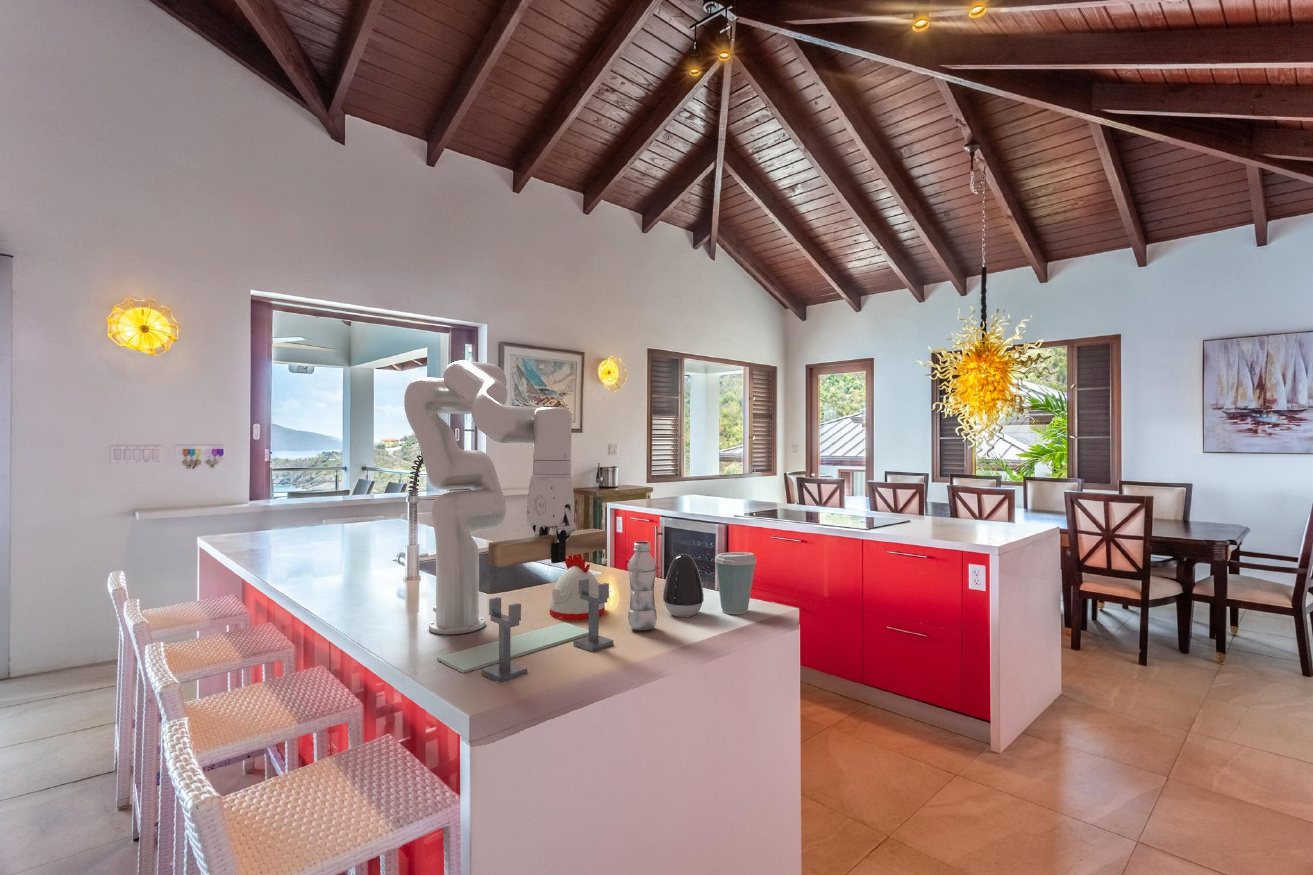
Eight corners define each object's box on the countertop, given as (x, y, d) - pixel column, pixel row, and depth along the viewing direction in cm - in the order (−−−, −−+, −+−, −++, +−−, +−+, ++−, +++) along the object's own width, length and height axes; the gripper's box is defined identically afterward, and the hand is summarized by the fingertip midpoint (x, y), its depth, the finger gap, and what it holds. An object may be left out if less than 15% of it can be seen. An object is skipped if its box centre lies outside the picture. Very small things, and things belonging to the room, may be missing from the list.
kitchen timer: (576, 602, 164) (576, 547, 165) (615, 610, 156) (615, 552, 157) (538, 614, 153) (538, 554, 153) (578, 623, 145) (578, 560, 145)
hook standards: (479, 673, 114) (479, 601, 114) (592, 638, 134) (592, 576, 134) (501, 684, 109) (502, 608, 109) (615, 645, 129) (615, 581, 129)
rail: (488, 564, 114) (488, 542, 114) (593, 546, 133) (593, 528, 133) (500, 567, 111) (500, 545, 111) (605, 549, 130) (605, 530, 130)
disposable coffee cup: (705, 611, 155) (705, 552, 156) (730, 603, 163) (730, 547, 164) (740, 619, 148) (740, 558, 148) (764, 610, 156) (764, 552, 156)
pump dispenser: (711, 612, 155) (711, 552, 155) (691, 622, 146) (691, 559, 146) (676, 606, 160) (676, 548, 160) (655, 616, 151) (655, 554, 152)
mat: (437, 660, 121) (437, 657, 121) (564, 624, 144) (564, 622, 144) (463, 673, 114) (463, 670, 114) (592, 633, 137) (592, 631, 137)
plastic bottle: (653, 634, 137) (653, 545, 137) (624, 632, 138) (624, 544, 138) (659, 626, 143) (659, 540, 143) (631, 624, 144) (631, 539, 145)
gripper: (512, 467, 125) (510, 557, 125) (563, 471, 113) (562, 570, 113) (541, 466, 130) (540, 552, 130) (594, 470, 119) (592, 564, 119)
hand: (550, 559), depth 122 cm, fingers closed on rail, 4 cm apart
